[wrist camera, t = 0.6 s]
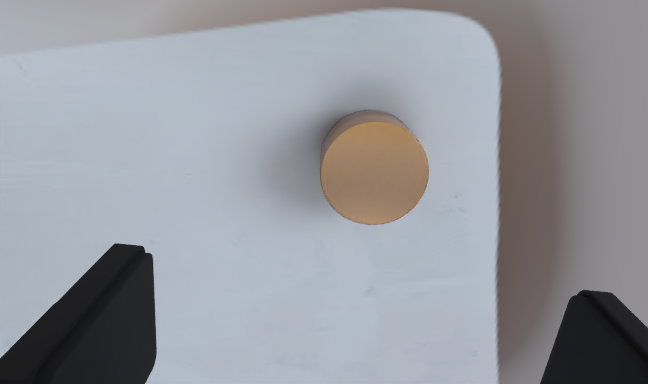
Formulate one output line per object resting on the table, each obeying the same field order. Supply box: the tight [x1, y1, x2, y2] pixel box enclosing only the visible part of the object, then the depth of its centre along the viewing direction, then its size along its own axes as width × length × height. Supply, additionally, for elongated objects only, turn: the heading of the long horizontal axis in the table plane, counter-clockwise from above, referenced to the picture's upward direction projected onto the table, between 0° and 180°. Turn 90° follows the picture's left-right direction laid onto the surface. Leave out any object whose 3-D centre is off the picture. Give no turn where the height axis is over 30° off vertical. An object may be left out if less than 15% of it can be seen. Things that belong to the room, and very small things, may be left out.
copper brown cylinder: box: [320, 110, 429, 225], centre depth 23 cm, size 5×5×3 cm
